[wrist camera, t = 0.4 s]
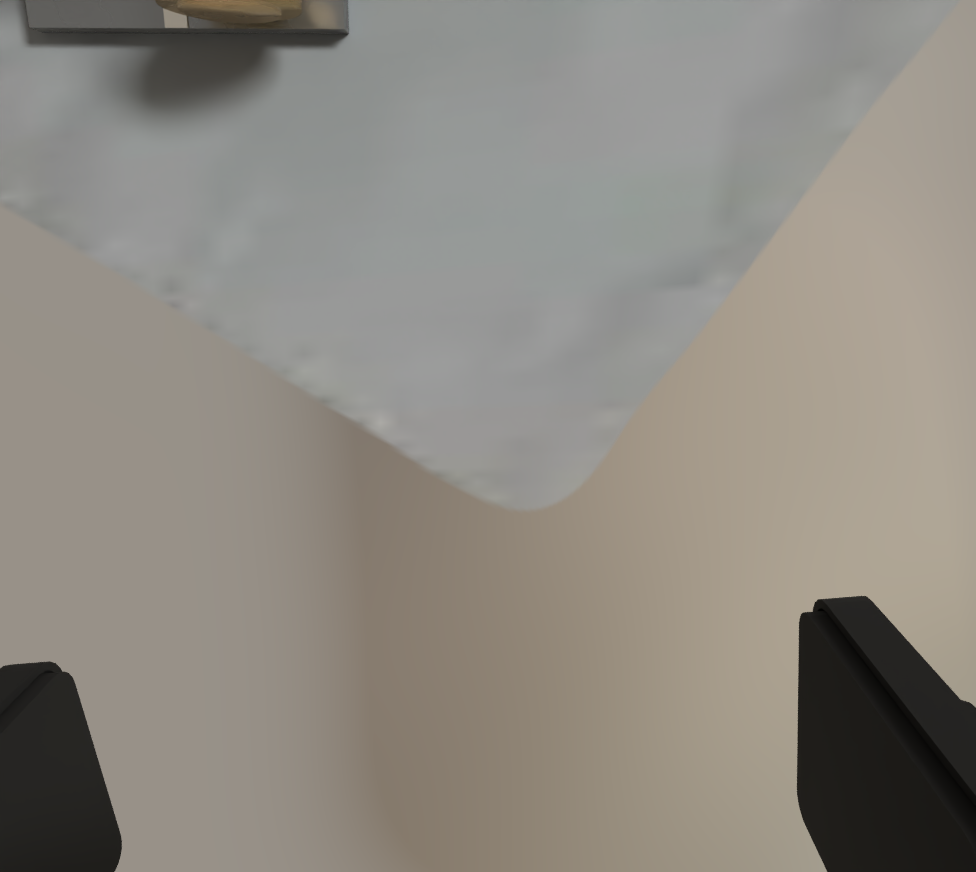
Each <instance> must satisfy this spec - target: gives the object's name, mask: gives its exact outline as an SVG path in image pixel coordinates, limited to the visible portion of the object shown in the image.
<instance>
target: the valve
mask: <svg viewBox="0 0 976 872" xmlns="http://www.w3.org/2000/svg"><path fill="white" fill-rule="evenodd" d="M25 3H26V10H27V17H28V23H29V28H32V29H35V30H37V31H40V32H100V33H302V34H349V21H348V0H25Z"/></svg>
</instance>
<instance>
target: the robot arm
mask: <svg viewBox="0 0 976 872" xmlns="http://www.w3.org/2000/svg"><path fill="white" fill-rule="evenodd" d="M798 677H799V678H798V679H799V682H798V686H799V687H798V754H797V755H798V757H797V758H798V759H797V795H798V802H799V807H800V811H801V814H802V818H803V820H804V823H805V825H806V827H807V829H808V832H809V834H810V836H811V838H812V840H813V842H814V844H815V846H816V849H817V851H818V853H819V855H820V857H821V859H822V861H823V863H824V865H825V868H826V870H827V872H976V708H975V707H974V706H973V705H972V704H971V703H969V702H966V701H963V700H960V699H959V698H958V696H957V695H956V694H955V693H954V692H953V691H952V690H951V689H950V688H949V686H948V685H947V684H946V683H945V682H944V681H943V680H942V679H941V678H940V676H939V675H938V674H937V673H936V672H935V671H934V670H933V669H932V667H931V666H930V665H929V664H928V663H927V662H926V661H925V660H924V659H923V657H922V656H921V655H920V654H919V653H918V652H917V651H916V650H915V649H914V647H913V646H912V645H911V644H910V643H909V642H908V641H907V640H906V639H905V637H904V636H903V635H902V634H901V633H900V632H899V631H898V630H897V628H896V627H895V626H894V625H893V624H892V623H891V622H890V621H889V620H888V618H886V616H885V615H884V614H883V613H882V612H881V611H880V610H879V608H878V607H877V606H876V605H875V604H874V603H873V602H872V601H871V600H870V599H869V598H868V597H866V596H856V597H843V598H832V599H819V600H817V601H816V602H815V604H814V607H813V612H805V613H802V614H801V617H800V622H799V676H798ZM121 849H122V841H121V835H120V831H119V828H118V824H117V821H116V818H115V814H114V811H113V808H112V805H111V801H110V798H109V794H108V791H107V788H106V785H105V781H104V778H103V774H102V771H101V768H100V765H99V761H98V758H97V755H96V752H95V748H94V745H93V741H92V738H91V735H90V731H89V728H88V725H87V721H86V718H85V715H84V711H83V708H82V705H81V702H80V698H79V695H78V692H77V688H76V685H75V682H74V680H73V678H72V676H71V675H70V674H69V673H67V672H62V670H61V668H60V667H59V666H58V665H57V664H56V663H53V662H38V663H26V664H14V665H7V666H3V667H2V668H0V872H114V871H115V869H116V867H117V865H118V863H119V859H120V855H121Z"/></svg>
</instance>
